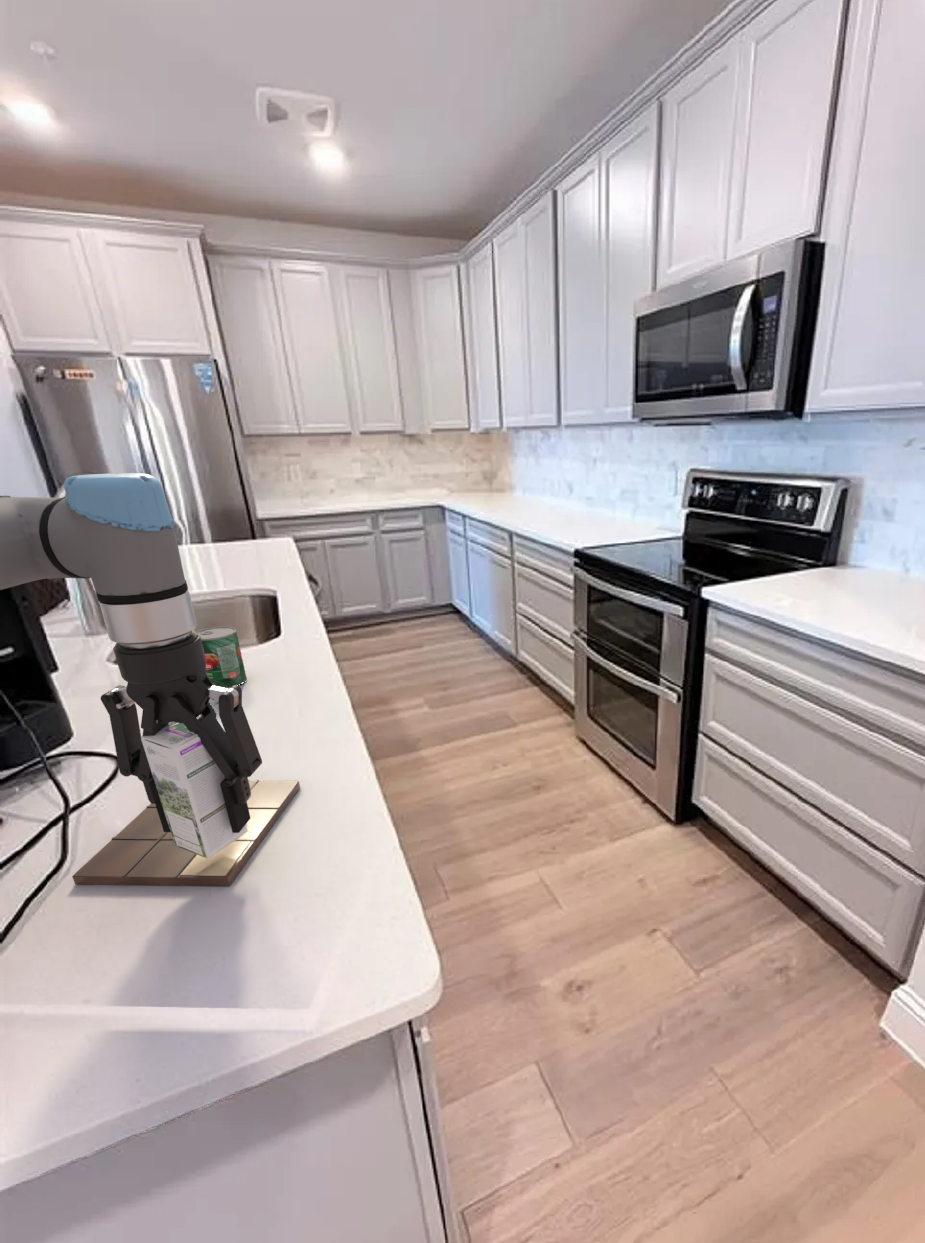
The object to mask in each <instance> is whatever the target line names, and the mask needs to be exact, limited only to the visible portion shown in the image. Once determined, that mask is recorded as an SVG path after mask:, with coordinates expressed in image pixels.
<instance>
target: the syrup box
mask: <svg viewBox="0 0 925 1243" xmlns="http://www.w3.org/2000/svg"><path fill="white" fill-rule="evenodd" d="M141 741H142V743H143V747H144V750H145V753H146V756H147V759H148V763H149V766H150V769H151V772H152V775H153V778H154V781H155V784H156V787H157V790H158V794H159V797H160V800H161V803H162V806H163V810H164V813H165V816H166V819H167V822H168V825H169V828H170V831H171V834H172V837H173V841H174V844H175V846H177V847H180V848H182V849H185V850H187V851H190V852H192V853H195V854H197V855H200V856H202V857H204V858H210V857H211V856H213V855H215V854H216V853H218V852H219V851H221V850H222V849H224V848H225V847H227V846H228V845H230V844H231V843H232V842H234V841H235V840H237V839H238V838H239V837H241V836H242V835H244V834H245V833H246V832H248V828H247V824H246V825H245V826H244V827H243V828H242V830H241V831H240V832H239V833H232V829H231V825H230V821H229V817H228V813H227V809H226V805H225V801H224V798H223V794H222V790H221V786H220V783H221V782H222V781H223V780H224V779H225V776H224V775H223V773H222V772H221V771H220V769H219V768H218V766H217V765H216V763H215V762H214V760H213V759H212V757H211V756H210V755H209V753H208V752H207V750H206V749H205V747H204V746H203V744H202V743H201V740H200V738H199V737H198V735H197V734H195V733H194V732H190V731H189V730H188V729H187V728H186V726H185V725H184V723H177V722H169V724H168V725H166V726H165V727H164V728H163V729H161V730H160V731H159V732H158V733H157V734H156V735H155V736H142V735H141Z"/></svg>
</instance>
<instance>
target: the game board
mask: <svg viewBox="0 0 925 1243" xmlns="http://www.w3.org/2000/svg"><path fill="white" fill-rule="evenodd" d="M248 782H249V786H250V790H251V796H250V798H249V799H248V800H247V805H248V810H249V814H250V820H249V821H248V822H247V823H246V824H247V828H248V832H246V833H245V834H244V835H242V836H241V837H239V838H238V839H237V840H235V841H234V842H232V843H231V844H230V845H228V846H227V847H225V848H224V849H222V850H221V851H219V852H218V853H216V854H215V855H213V856H211V857H210V858H204V857H202V856H200V855H197V854H195V853H192V852H190V851H187V850H185V849H182V848H180V847H177V846H175V844H174V841H173V837H172V834H171V832H164V831H163V827H162V824H161V821H160V818H159V814H158V811H157V808H156V805H155V804H151V803H150V804H149V805H146V807H145V808H144V810H142V811H141V812H140V813H139V814H137V816H136V817H134V819H132V820H131V821H130V822H129V823H128V824H127V825H126V826H125V827H124V828H122V830H120V832H118V833H117V834H116V835H115V836H113V837H111V839H110V840H109V841H108V842H107V843H106V844H105V845H104V846H103V847H102V848H101V849H100V850H99V851H98V852H97V853H95V855H93V856H92V857H91V858H90V859H89V860H87V862H86V863H84V865H82V866H81V867H80V868H79V869H78V870H77V871H76V872H75V873H74V874H73V875H72V876H71V877H72V880H73V882H74V884H75V885H96V886H97V885H104V886H112V885H113V886H171V887H173V886H175V887H177V886H179V887H180V886H183V887H184V886H185V887H186V886H187V887H231V885H232V883H233V882H234V881H235V879H236V878H237V877H238V875H239V874H240V873H241V871H242V870H243V868H244V867H245V865H246V864H247V863H248V861H249V860H250V858H251V857H252V855H253V854H254V853H255V851H256V850H257V849H258V848H259V846H260V844H261V843H262V842H263V840H264V839H265V837H266V836H267V834H269V832H270V830H271V829H272V828H273V826H274V825H275V824H276V822H277V821H278V819H279V818H280V816H282V814H283V812H285V810H286V808H287V807H288V805H289V804H290V802H292V800H293V798H294V797H295V796H296V794H297V793H298V792H299V790H300V789H301V785H300V781H299V780H260V779H256V780H248Z"/></svg>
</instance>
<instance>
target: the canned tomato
mask: <svg viewBox="0 0 925 1243" xmlns="http://www.w3.org/2000/svg"><path fill="white" fill-rule="evenodd" d="M196 632H197V633H199V634H200V637H201V641H202V645H203V649H204V653H205V658H206V673H207V675H208V677H209V679H210V680H211V681H212V682H213V684H214V686H219V687H224V688H230V687H232V686H233V685H239V684H241V683H242V682H245V681H246V680H247V681H248V678H247V674H246V670H245V666H244V660H243V655H242V652H241V645H240V641H239V636H238V633H237V628H236V627H233V626H225V625H224V626H213V627H206V628H202V629H199V630H197V631H196ZM247 681H246V682H247ZM246 682H245V683H246Z"/></svg>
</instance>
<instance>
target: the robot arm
mask: <svg viewBox="0 0 925 1243" xmlns="http://www.w3.org/2000/svg"><path fill="white" fill-rule="evenodd" d="M63 489H64V492H65V496H63V497H36V496H35V497H34V496H33V497H31V496H29V497H26V496H10V495H0V591H2V590H6V589H10V588H13V587H16V586H20V585H24V584H28V583H31V582H34V581H39V580H46V579H91V583H92V586H93V588H94V591H95V594H96V597H97V601H98V605H99V608H100V612H101V614H102V618H103V621H104V625H105V628H106V632H107V635H108V638H109V640H110V641H112V642H114V643H115V646H113V649H112V650H113V653H114V656H115V660H116V663H117V666H118V669H119V674H120V676H121V678H122V679H123V680H124V681H125V682H127V684H126V686H125V685H123V684H119V685H117V686H115V687H114V688H112V689H110V690H108V691H107V692H105V693H103V694H101V695H100V700H101V703H102V705H103V706H104V708H105V710H106V711H107V714H108V715H109V720H110V726H111V732H112V737H113V742H114V748H115V753H116V759H117V760H116V761H117V763H118V770H119V773H120V775H121V776H123V777H126V778H127V777H130V776H134V777H137V778H138V780H139V781H140V782H142V784H143V787H144V790H145V793H146V797H147V800H148V801H149V803H150V804H155V805H156V808H157V811H158V814H159V818H160V821H161V824H162V827H163V831H164V832H171V831H170V828H169V825H168V822H167V819H166V816H165V813H164V810H163V806H162V803H161V800H160V797H159V794H158V790H157V787H156V784H155V781H154V778H153V775H152V772H151V769H150V766H149V763H148V759H147V756H146V753H145V750H144V747H143V743H142V741H141V736H155V735H156V734H157V733H158V732H159V731H160V730H161V729H163V728H164V727H165V726H166V725H168V724H169V723H170V722H177V723H184V725H185V726H186V728H187V729H188V730H189V731H190V732H194V733H195V734H197V735H198V737H199V738H200V740H201V743H202V744H203V746H204V747H205V749H206V750H207V752H208V753H209V755H210V756H211V757H212V759H213V760H214V762H215V763H216V765H217V766H218V768H219V769H220V771H221V772H222V773H223V775H224V776H225V779H224V780H223V781H222V782H221V783H220V786H221V790H222V794H223V798H224V801H225V805H226V809H227V813H228V817H229V821H230V825H231V829H232V833H239V832H240V831H241V830H242V828H243V827H244V826H245V825H246V823H247V822H248V821H249V820H250V814H249V810H248V805H247V800H248V799H249V798H250V796H251V790H250V786H249V782H248V781H249V778H250V777H252V775H254V774H255V772H256V771H257V770H258V768H259V767H260V766H261V765H262V764H263V759H262V757H261V753H260V751H259V748H258V746H257V743H256V740H255V738H254V735H253V732H252V729H251V727H250V724H249V720H248V718H247V715H246V712H245V709H244V708H243V688H241V686H237V685H233V686H232V687H230V688H224V687H219V686H214V684H213V682H212V681H211V680H210V679H209V677H208V675H207V673H206V658H205V653H204V649H203V645H202V641H201V637H200V634H199V633H197V631H196V630H195V629H196V628H197V626H198V622H197V618H196V613H195V610H194V605H193V602H192V598H191V593H190V589H189V587H188V582H187V579H186V577H185V572H184V569H183V563H182V559H181V552H180V549H179V543H178V538H177V534H176V528H175V519H174V517H173V515H172V514H171V510H170V507H169V505H168V501H167V499H166V498H167V497H166V494H165V492H164V488H163V485H162V484H161V482H160V480H158V478H157V477H155V476H153V475H151V474H148V473H144V472H143V473H142V472H120V473H93V474H92V473H91V474H80V475H79V474H78V475H72V476H69V477H67V478H66V479H65V480H64V482H63ZM211 700H213V702H214V705H213V706H212V705H211V703H210V701H211ZM137 706H138V707H139V708H141V710H142V712H141V721H140V722H139V715H138V709H137ZM215 710H218V715H219V719H220V722H221V724H220V722H219V721H218V719H217V712H216V711H215ZM141 729H142V733H141Z"/></svg>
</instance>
